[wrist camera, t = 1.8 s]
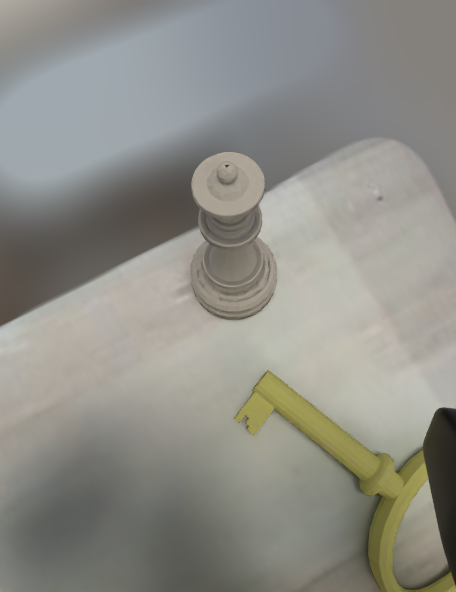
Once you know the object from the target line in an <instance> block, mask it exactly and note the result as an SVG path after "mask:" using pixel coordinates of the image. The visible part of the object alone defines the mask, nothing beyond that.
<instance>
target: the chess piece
mask: <svg viewBox="0 0 456 592" xmlns="http://www.w3.org/2000/svg"><path fill="white" fill-rule="evenodd" d="M191 190H192V194H193V198H194V201H195V202H196V204H197V205H198V207H199V208H200V212H199V220H198V221H199V222H198V223H199V227H200V231H201V234H202V235H203V237H204V238H205V240H206V241H205V242H204V243H203V244H202V245H201V246H200V247H199V248H198V250H197V251H196V253H195V254H194V257H193V260H192V263H191V279H192V285H193V289H194V293H195V295H196V297H197V298H198V300H199V302H200V303H201V304H202V305H203V306H204V307H205V308H206V309H207V310H208V311H209V312H211V313H213V314H214V315H216V316H218V317H222V318H226V319H242V318H245V317H249V316H252V315H253V314H255V313H257V312H259V311H260V310H261V309H262V308H263V307H264V306H265V305H266V304H267V303H268V302H269V300H270V298H271V297H272V295H273V293H274V289H275V285H276V281H277V279H276V276H277V268H276V262H275V258H274V255H273V253H272V252H271V250H270V249H269V247H268V246H267V245H266V244H265V243H264V242H263V241H262V240H261V239H259V238H258V237H257V236H258V234H259V233H260V229H261V226H262V213H261V210H260V207H259V203H260V202H261V200H262V198H263V195H264V191H265V180H264V177H263V173H262V171H261V169H260V168H259V166H258V165H257V164H256V163H255V162H254V161H253V160H251V159H250V158H249V157H247V156H245V155H242V154H239V153H234V152H223V153H220V154H216V155H213V156H211V157H209V158H207V159H206V160H204V161H203V162H202V163H201V164H200V165H199V166H198V168H197V169H196V170H195V172H194V175H193V178H192V187H191Z"/></svg>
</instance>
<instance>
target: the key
mask: <svg viewBox="0 0 456 592" xmlns="http://www.w3.org/2000/svg"><path fill="white" fill-rule="evenodd" d="M252 391H253V392H254V393H253V394H252V395H251V397H250V398H249V399H248V401H247V402H246V403H245V405H244V406H243V407H242V409H241V410H240V411H239V413H238V414H237V415H236V417H235V418H234V419H235V420H236V421H238V422H239V423H240V422H241V420H242V419H243V418H244V416H246V417H248V419H247V420H246V422H245V423H246V424H247V425H248V426H247V428H246V429H247V430H248V431H250V432H251V433H252V434H253V435H255V434H256V433H257V431H258V430H259V429H260V427H261V426H262V425H263V423H264V422H265V421H266V419H267V418H268V416H269V415H270V414H271V412H272V411H273V410H274V409H275V410H276V411H278V412H279V413H280V414H281V415H282V416H284V417H285V418H286V419H287V420H289V421H290V422H291V423H292V424H294V425H295V426H296V427H297V428H299V429H300V430H301V431H302V432H303V433H305V434H306V435H307V436H308V437H310V438H311V439H312V440H313V441H315V442H316V443H317V444H318V445H319V446H321V447H322V448H323V449H324V450H326V451H327V452H328V453H329V454H331V455H332V456H333V457H334V458H335V459H337V460H338V461H339V462H340V463H342V464H343V465H344V466H345V467H347V468H348V469H349V470H350V471H351V472H353V473H354V474H355V475H356V476H358V477H359V478H360V479H359V487H360V489H361V490H362V492H363V493H364V494H366V495H370V496H372V495H375V494H377V493H379V494H380V495H381V496H382V498H381V501H380V503H379V505H378V507H377V510H376V512H375V514H374V517H373V520H372V524H371V528H370V532H369V546H368V556H369V561H370V566H371V569H372V572H373V574H374V577H375V579H376V581H377V583H378V585H379V587H380V588H381V590H382V592H456V587H455V583H454V580H453V577H452V574H451V571H450V572H449V573H448V574H447V575H446V576H444V577H442V578H441V579H439V580H438V581H436V582H435V583H433V584H431V585H429V586H427V587H424V588H422V589H419V590H408V589H404V588H402V587H401V586H400V585H399V584H398V582H397V581H396V579H395V577H394V573H393V567H392V559H393V548H394V543H395V538H396V534H397V530H398V528H399V526H400V523H401V521H402V519H403V516H404V514H405V512H406V510H407V508H408V507H409V505H410V503H411V501H412V499H413V498H414V496H415V495H416V494H417V492H418V491H419V489H420V488H421V487H422V486H423V484H424V483H425V482H426V481H427V480H428V474H427V470H426V465H425V460H424V455H423V450H422V451H420V452H418V453H417V454H416V455H415V456H413V457H412V458H411V459H410V460H408V462H407V463H406V464H405V465H404V466H403V467H402V468H401V470H400V471H399V472H398V473H397V472H395V471H394V460H393V459H392V458H391V457H390V456H389V455H388V454H386V453H382V454H378V455H376V456H375V455H374V454H373V453H372V452H370V451H369V450H368V449H367V448H365V447H364V446H363V445H362V444H360V443H359V442H358V441H357V440H355V439H354V438H353V437H352V436H350V435H349V434H348V433H347V432H345V431H344V430H343V429H342V428H340V427H339V426H338V425H337V424H335V423H334V422H333V421H332V420H330V419H329V418H328V417H327V416H325V415H324V414H323V413H322V412H320V411H319V410H318V409H317V408H315V407H314V406H313V405H312V404H310V403H309V402H308V401H307V400H305V399H304V398H303V397H302V396H300V395H299V394H298V393H297V392H295V391H294V390H293V389H292V388H290V387H289V386H288V385H287V384H285V383H284V382H283V381H282V380H280V379H279V378H278V377H277V376H275V375H274V374H273V373H272V372H270V371H269V370H268V371H267V372H266V373H265V374H264V375H263V376H262V377H261V379H260V380H259V381H258V383H257V384H256V385H255V387H254V388H253V390H252Z"/></svg>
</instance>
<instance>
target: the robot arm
mask: <svg viewBox="0 0 456 592" xmlns="http://www.w3.org/2000/svg"><path fill="white" fill-rule="evenodd" d="M423 455H424V460H425V465H426V470H427V474H428V479H429V484H430V489H431V494H432V498H433V503H434V508H435V513H436V518H437V522H438V527H439V532H440V536H441V540H442V544H443V548H444V551H445V555H446V558H447V561H448V565H449V568H450V571H451V574H452V577H453V580H454V583H455V587H456V409H453V408H444V407H443V408H439V409H438V410H437V411H436V412H435V414H434V416H433V419H432V421H431V424H430V426H429V429H428V431H427V434H426V437H425V439H424V443H423Z"/></svg>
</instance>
